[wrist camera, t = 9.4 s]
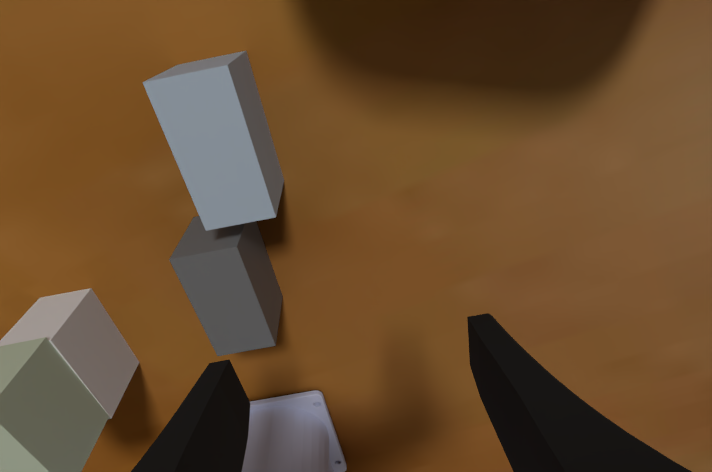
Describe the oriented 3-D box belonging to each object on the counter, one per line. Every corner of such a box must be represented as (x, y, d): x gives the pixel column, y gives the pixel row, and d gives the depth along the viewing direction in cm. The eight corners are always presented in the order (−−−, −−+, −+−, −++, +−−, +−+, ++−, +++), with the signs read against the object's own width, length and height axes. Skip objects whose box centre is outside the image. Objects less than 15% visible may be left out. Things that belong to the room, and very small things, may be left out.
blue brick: (284, 179, 21) (276, 217, 17) (225, 190, 21) (205, 230, 17) (246, 50, 18) (227, 65, 14) (178, 64, 18) (142, 82, 14)
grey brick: (139, 362, 26) (111, 418, 23) (93, 370, 26) (58, 427, 23) (91, 288, 23) (50, 340, 20) (39, 297, 23) (-10, 351, 20)
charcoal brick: (282, 295, 24) (275, 345, 21) (232, 304, 24) (217, 356, 21) (251, 205, 21) (236, 246, 18) (194, 216, 21) (169, 259, 18)
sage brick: (109, 416, 23) (70, 492, 19) (57, 425, 23) (9, 503, 19) (46, 337, 20) (-14, 411, 16) (-15, 349, 20) (-86, 425, 16)
